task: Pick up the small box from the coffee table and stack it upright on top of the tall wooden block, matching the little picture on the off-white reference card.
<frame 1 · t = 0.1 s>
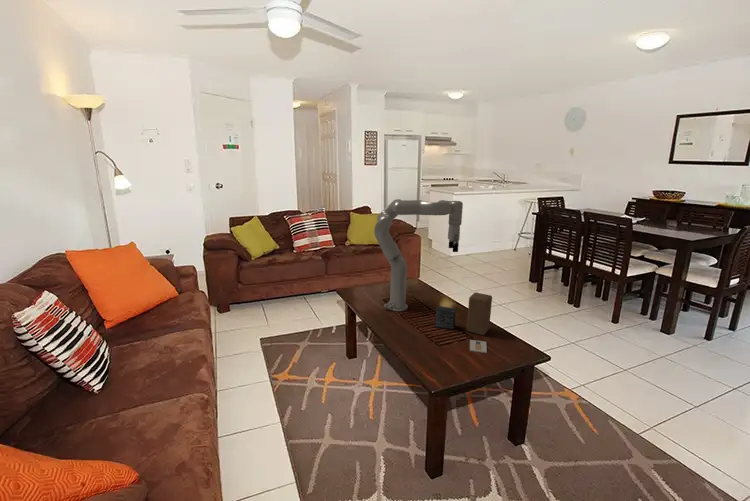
hand: (453, 249, 233), 37 cm above the table, tool pointing down, fingers open, 9 cm apart
wooden block: (477, 330, 210), on the table
reference card: (478, 346, 192), on the table
small box: (444, 326, 215), on the table
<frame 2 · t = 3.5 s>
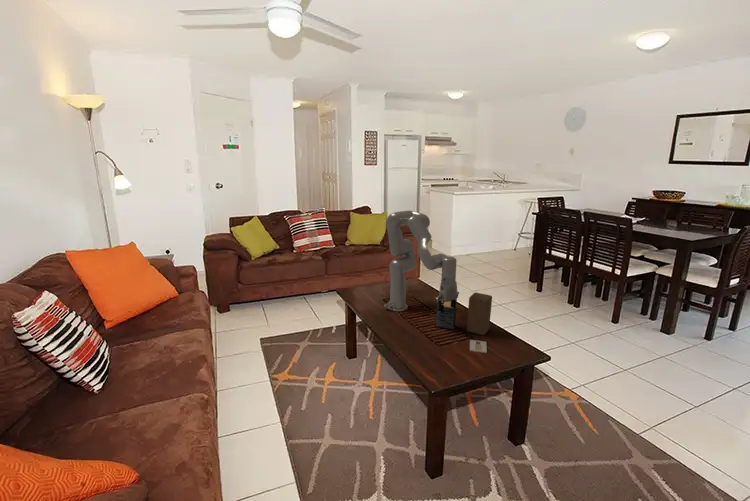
hand: (447, 309, 212), 10 cm above the table, tool pointing down, fingers open, 9 cm apart
small box: (444, 326, 215), on the table, touching gripper
everything else where it was.
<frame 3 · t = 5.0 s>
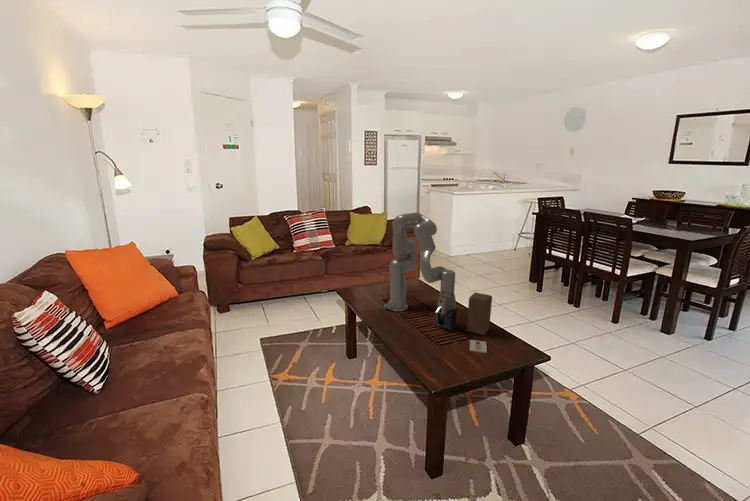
hand: (445, 322, 214), 2 cm above the table, tool pointing down, fingers closed on small box, 7 cm apart
small box: (445, 326, 214), on the table, touching gripper
everything else where it was.
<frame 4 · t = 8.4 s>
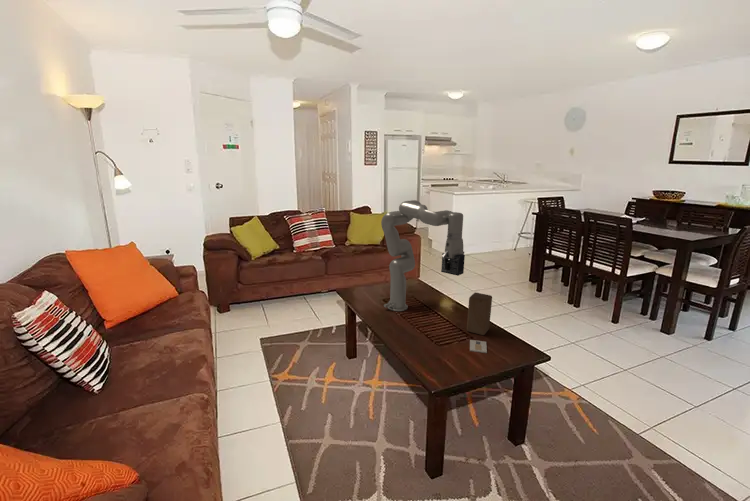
hand: (452, 268, 206), 34 cm above the table, tool pointing down, fingers closed on small box, 7 cm apart
small box: (452, 273, 206), point 31 cm above the table, touching gripper
everything else where it was.
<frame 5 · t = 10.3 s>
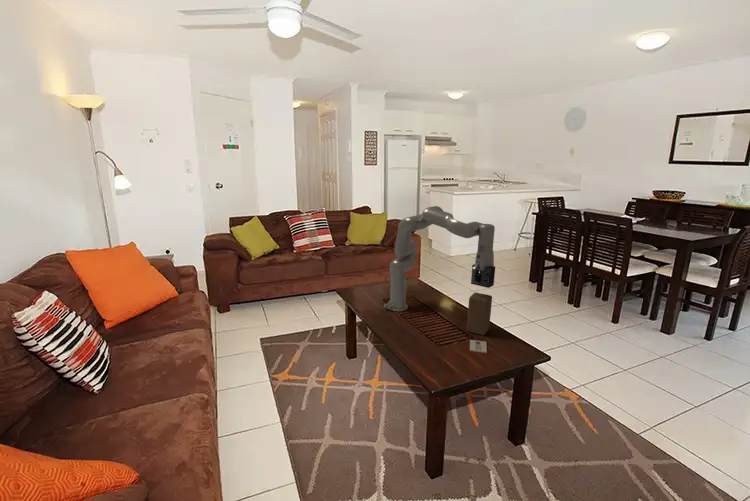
hand: (482, 280, 203), 29 cm above the table, tool pointing down, fingers closed on small box, 7 cm apart
small box: (482, 284, 204), point 26 cm above the table, touching gripper
everything else where it was.
when the fingers open (24 cm above the table, at t = 11.8 s): small box drops 1 cm, resting on wooden block.
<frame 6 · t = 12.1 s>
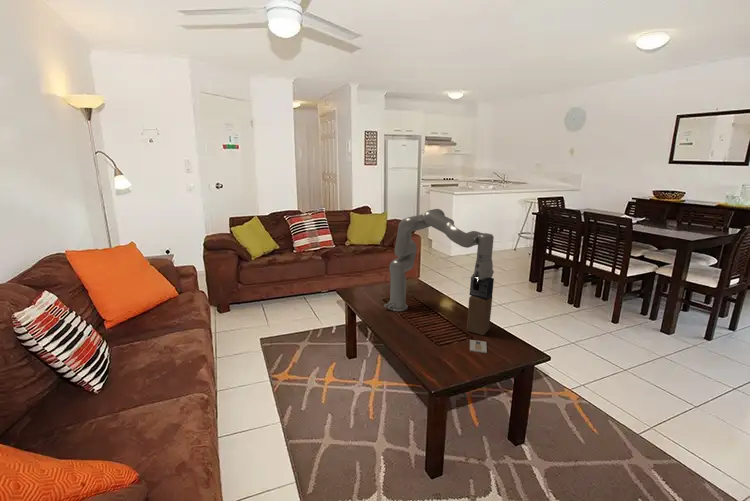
hand: (481, 288, 204), 24 cm above the table, tool pointing down, fingers open, 9 cm apart
wooden block: (477, 330, 210), on the table, touching small box
small box: (480, 296, 206), point 20 cm above the table, touching wooden block
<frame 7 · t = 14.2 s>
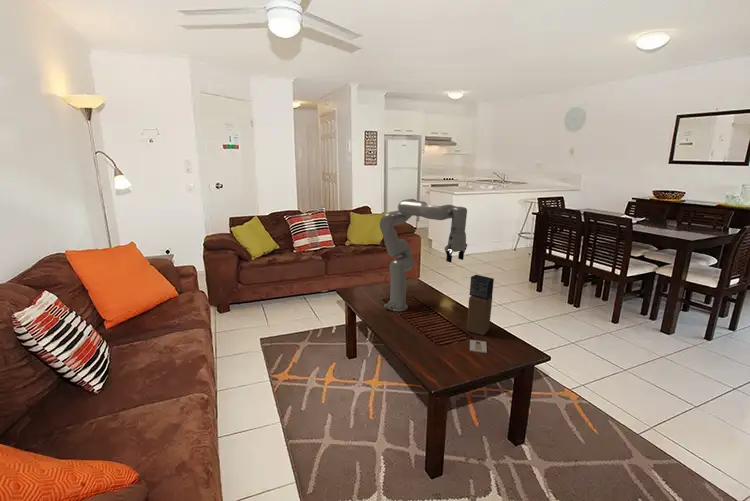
hand: (454, 260, 211), 37 cm above the table, tool pointing down, fingers open, 9 cm apart
nothing on the table moved.
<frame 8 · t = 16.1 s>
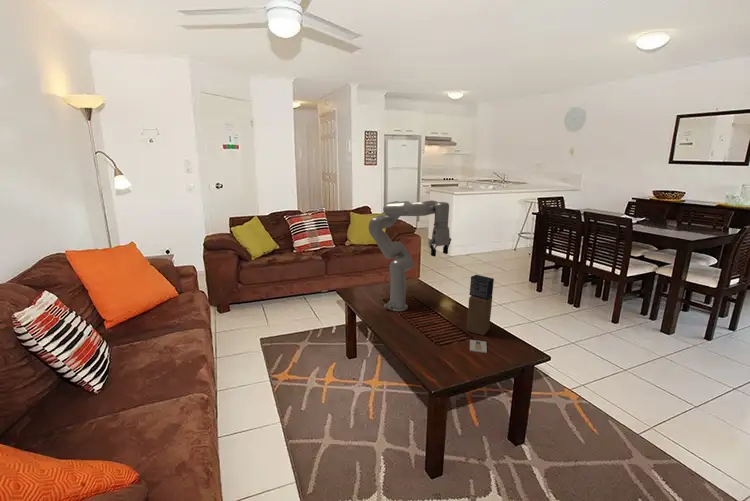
hand: (439, 254, 216), 38 cm above the table, tool pointing down, fingers open, 9 cm apart
nothing on the table moved.
at the end: small box 0.0 cm off-centre on the wooden block, point 20.0 cm above the wooden block's base; small box tilted 0°; wooden block tilted 0° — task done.
